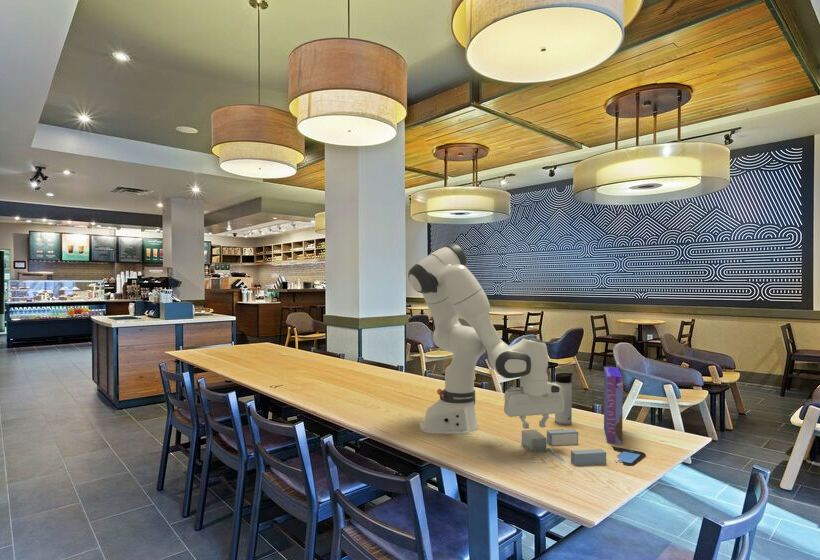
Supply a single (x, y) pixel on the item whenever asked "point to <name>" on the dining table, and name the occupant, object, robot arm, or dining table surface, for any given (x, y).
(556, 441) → the block
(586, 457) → the vise
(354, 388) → the dining table surface
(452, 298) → the robot arm
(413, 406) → the dining table surface
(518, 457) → the dining table surface
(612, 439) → the cereal box
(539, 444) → the steel block
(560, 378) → the travel mug
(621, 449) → the game console
